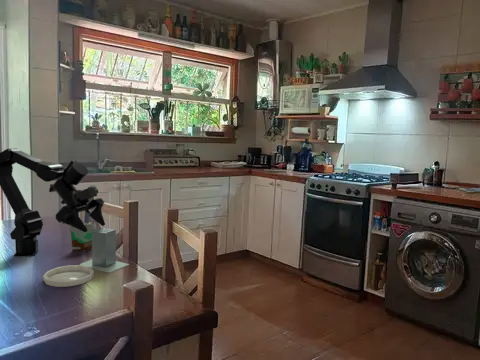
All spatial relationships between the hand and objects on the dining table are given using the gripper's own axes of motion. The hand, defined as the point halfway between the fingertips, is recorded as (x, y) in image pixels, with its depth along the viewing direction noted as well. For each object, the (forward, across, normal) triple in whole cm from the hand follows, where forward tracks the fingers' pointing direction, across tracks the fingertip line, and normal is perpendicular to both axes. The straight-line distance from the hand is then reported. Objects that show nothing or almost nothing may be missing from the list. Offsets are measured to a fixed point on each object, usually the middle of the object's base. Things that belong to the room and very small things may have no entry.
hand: (95, 228), depth 133 cm
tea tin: (+11, 0, +6) cm, 13 cm away
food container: (-1, +14, +20) cm, 25 cm away
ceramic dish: (+10, -14, +9) cm, 19 cm away
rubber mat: (+12, 0, +7) cm, 14 cm away
